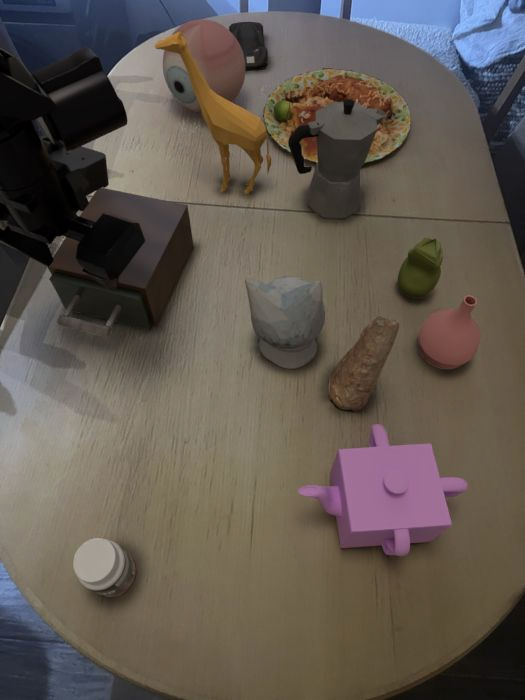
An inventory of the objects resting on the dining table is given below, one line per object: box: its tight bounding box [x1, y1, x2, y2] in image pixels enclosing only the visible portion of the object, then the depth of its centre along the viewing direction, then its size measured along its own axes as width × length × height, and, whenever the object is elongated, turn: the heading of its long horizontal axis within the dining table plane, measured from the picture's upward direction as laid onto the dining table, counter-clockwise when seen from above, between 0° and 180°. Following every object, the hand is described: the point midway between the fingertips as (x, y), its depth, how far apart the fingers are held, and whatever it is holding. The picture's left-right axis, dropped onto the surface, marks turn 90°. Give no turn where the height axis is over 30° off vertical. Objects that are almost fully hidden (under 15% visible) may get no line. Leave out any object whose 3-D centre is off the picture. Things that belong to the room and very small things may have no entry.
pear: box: [397, 237, 444, 299], centre depth 73 cm, size 6×5×10 cm
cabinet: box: [46, 187, 195, 328], centre depth 74 cm, size 16×14×9 cm
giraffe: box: [154, 29, 272, 195], centre depth 78 cm, size 16×4×25 cm, turn 79°
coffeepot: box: [288, 99, 387, 220], centre depth 79 cm, size 15×9×18 cm, turn 110°
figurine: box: [244, 275, 326, 370], centre depth 65 cm, size 10×9×15 cm
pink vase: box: [417, 295, 482, 370], centre depth 66 cm, size 8×8×12 cm
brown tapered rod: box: [327, 315, 400, 412], centre depth 60 cm, size 6×18×6 cm
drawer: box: [49, 272, 151, 338], centre depth 72 cm, size 20×13×7 cm, turn 164°
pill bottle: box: [72, 537, 136, 598], centre depth 52 cm, size 5×5×8 cm
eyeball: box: [162, 18, 246, 114], centre depth 94 cm, size 15×15×15 cm
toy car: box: [228, 21, 269, 72], centre depth 109 cm, size 7×15×4 cm, turn 6°
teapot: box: [297, 423, 469, 557], centre depth 56 cm, size 18×14×10 cm
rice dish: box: [262, 67, 412, 165], centre depth 96 cm, size 28×28×5 cm
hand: (81, 275), depth 60 cm, fingers open, 9 cm apart
